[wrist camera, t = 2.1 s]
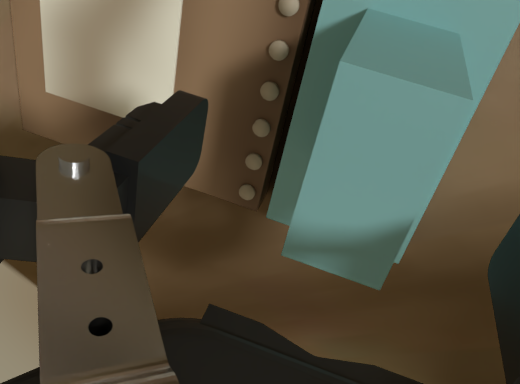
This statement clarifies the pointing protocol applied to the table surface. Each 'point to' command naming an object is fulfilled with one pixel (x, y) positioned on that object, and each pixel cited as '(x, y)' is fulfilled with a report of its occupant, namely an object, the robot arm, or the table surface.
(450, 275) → the table surface
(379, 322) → the table surface
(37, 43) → the board
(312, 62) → the stub
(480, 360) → the table surface
